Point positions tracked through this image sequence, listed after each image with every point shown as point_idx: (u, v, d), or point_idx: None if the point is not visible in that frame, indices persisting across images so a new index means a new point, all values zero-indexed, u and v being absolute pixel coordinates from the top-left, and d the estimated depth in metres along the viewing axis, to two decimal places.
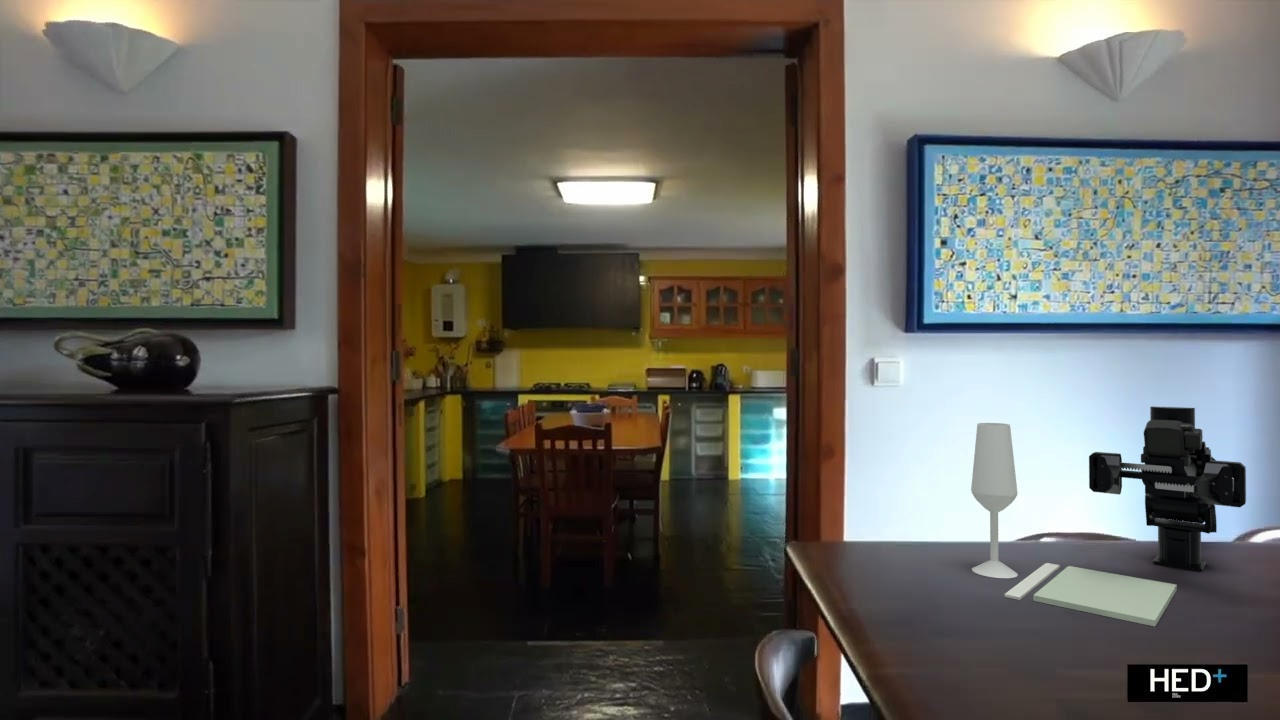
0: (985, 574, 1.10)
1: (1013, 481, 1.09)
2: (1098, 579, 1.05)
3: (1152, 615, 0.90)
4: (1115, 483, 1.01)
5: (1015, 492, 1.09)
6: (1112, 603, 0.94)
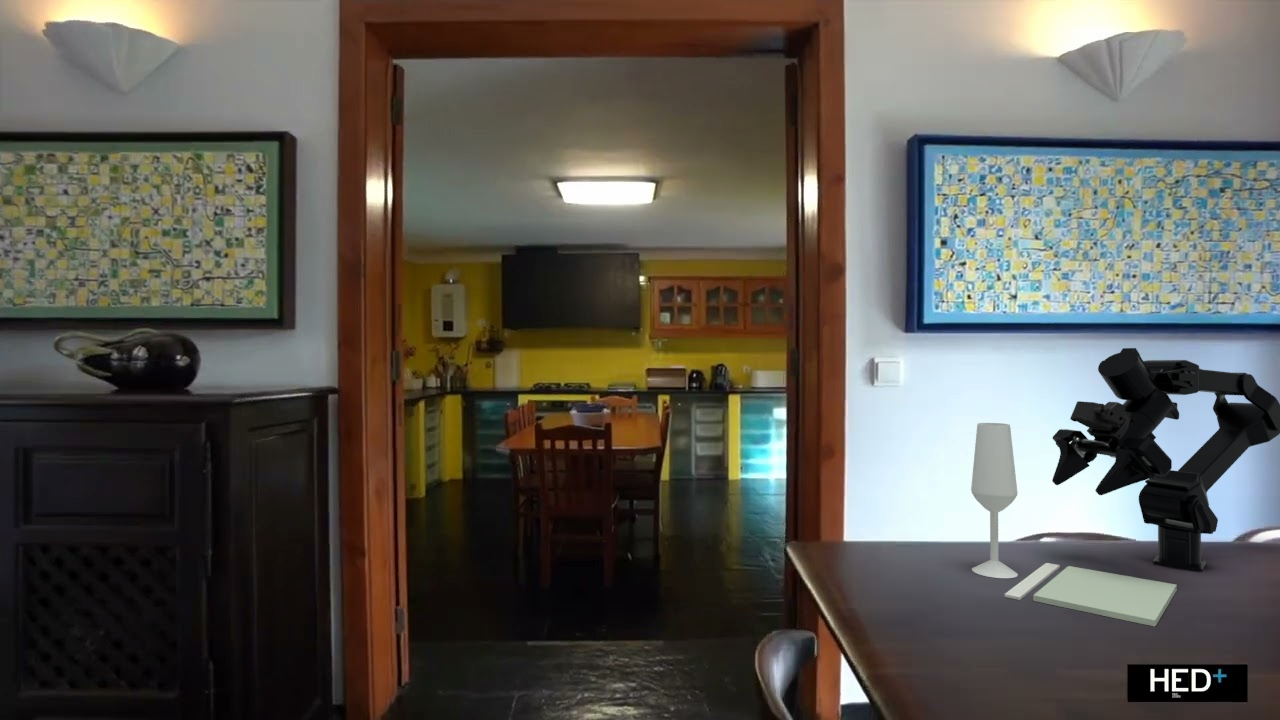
0: (985, 574, 1.10)
1: (1013, 481, 1.09)
2: (1098, 579, 1.05)
3: (1152, 615, 0.90)
4: (1056, 484, 1.16)
5: (1015, 492, 1.09)
6: (1112, 603, 0.94)
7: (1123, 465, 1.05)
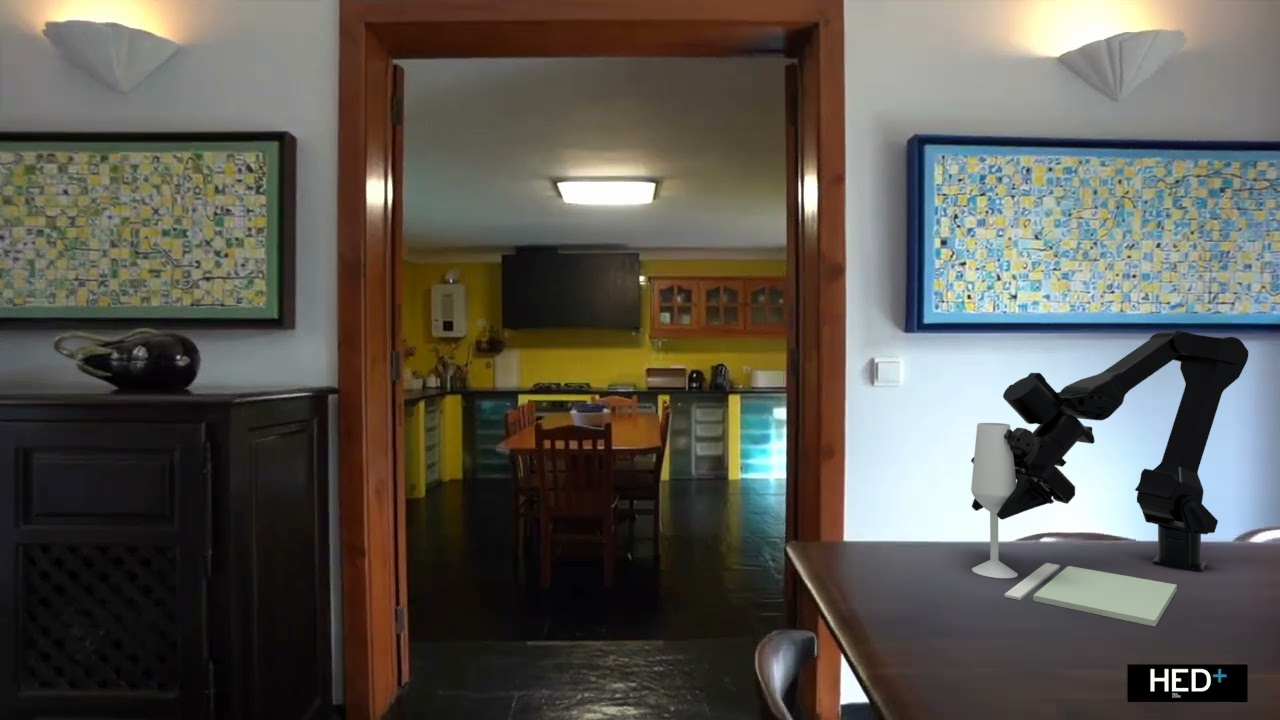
0: (985, 574, 1.10)
1: (1013, 481, 1.09)
2: (1098, 579, 1.05)
3: (1152, 615, 0.90)
4: (975, 510, 1.15)
5: None
6: (1112, 603, 0.94)
7: (1022, 490, 1.07)
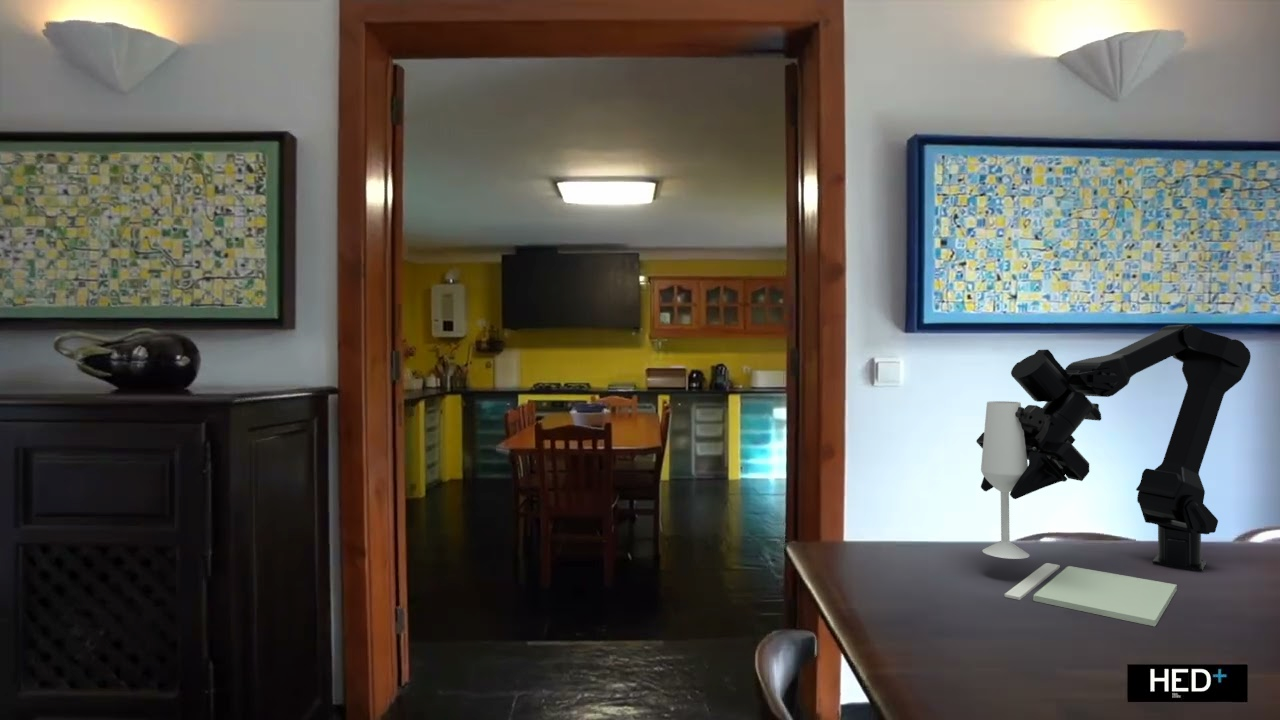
0: (998, 555, 1.08)
1: (1025, 460, 1.07)
2: (1098, 579, 1.05)
3: (1152, 615, 0.90)
4: (984, 490, 1.13)
5: None
6: (1112, 603, 0.94)
7: (1036, 468, 1.05)
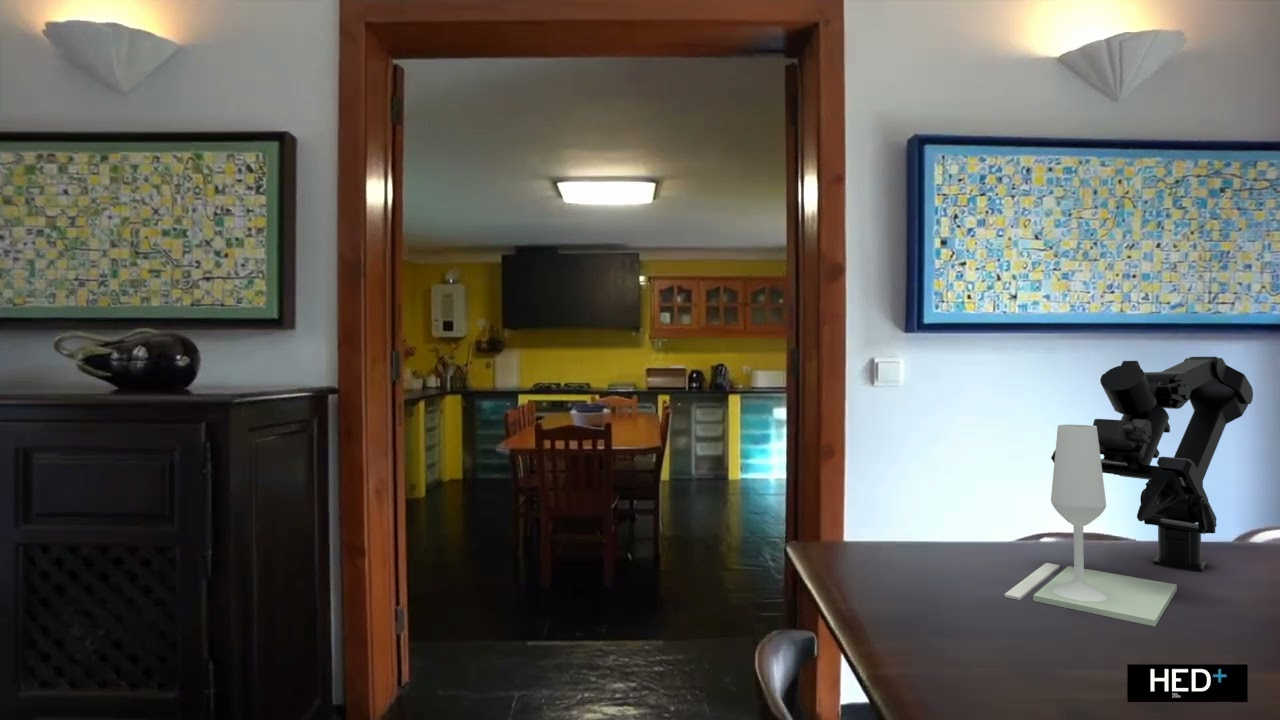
0: (1081, 599, 0.96)
1: None
2: (1098, 579, 1.05)
3: (1152, 615, 0.90)
4: None
5: None
6: (1112, 603, 0.94)
7: (1162, 487, 0.99)
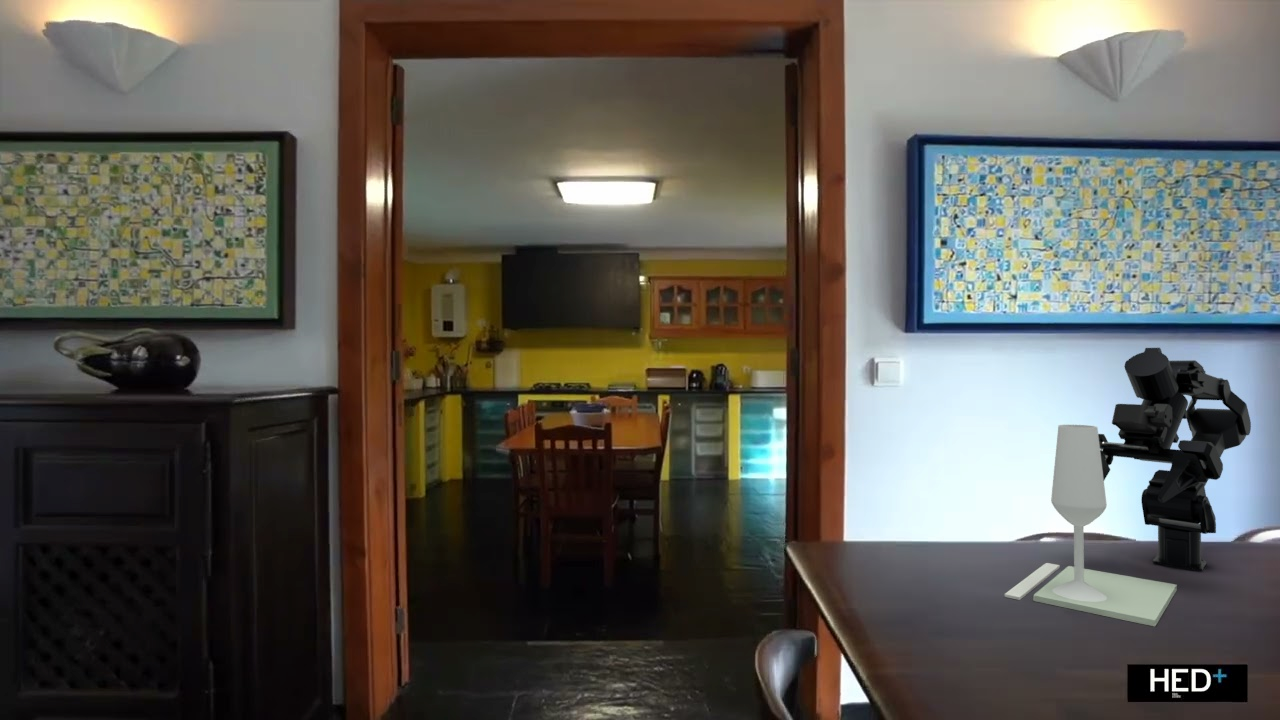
0: (1081, 599, 0.96)
1: (1104, 490, 0.97)
2: (1098, 579, 1.05)
3: (1152, 615, 0.90)
4: None
5: None
6: (1112, 603, 0.94)
7: (1183, 470, 1.01)
